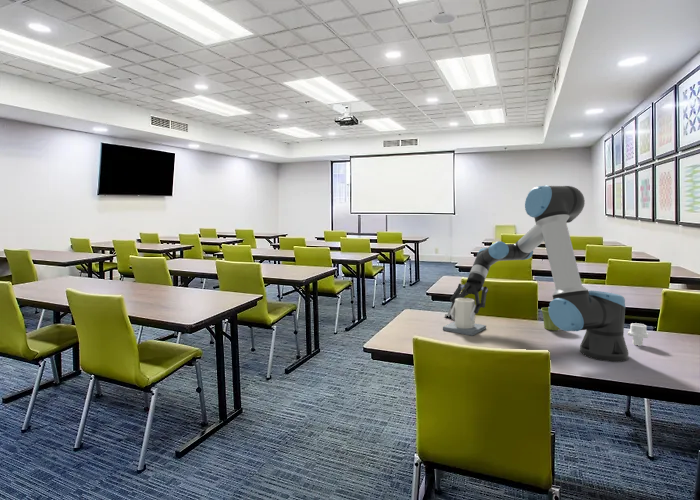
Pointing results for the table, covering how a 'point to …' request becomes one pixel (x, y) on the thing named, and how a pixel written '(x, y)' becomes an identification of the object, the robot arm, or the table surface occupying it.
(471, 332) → the post base
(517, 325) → the table surface
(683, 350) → the table surface
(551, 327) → the plant pot
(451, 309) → the grey curved piece
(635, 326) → the white figurine planter
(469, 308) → the white faceted cup
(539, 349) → the table surface
